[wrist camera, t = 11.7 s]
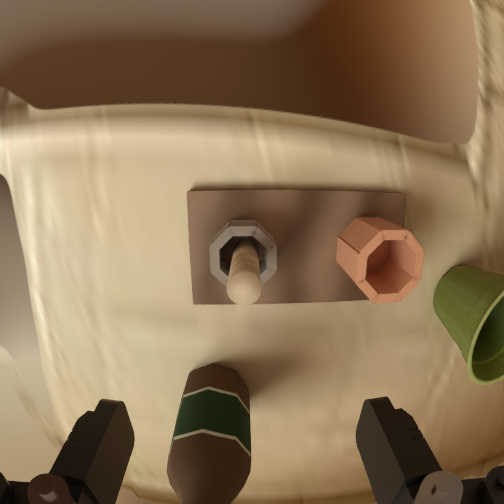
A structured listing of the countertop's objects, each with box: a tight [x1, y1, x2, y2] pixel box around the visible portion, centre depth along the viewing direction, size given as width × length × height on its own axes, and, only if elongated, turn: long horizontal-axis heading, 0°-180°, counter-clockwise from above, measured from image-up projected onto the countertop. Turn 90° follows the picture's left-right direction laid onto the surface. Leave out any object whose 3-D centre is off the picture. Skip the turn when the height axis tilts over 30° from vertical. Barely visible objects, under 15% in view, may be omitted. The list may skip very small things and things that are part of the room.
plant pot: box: [433, 265, 504, 385], centre depth 28 cm, size 12×12×11 cm
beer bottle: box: [167, 364, 251, 504], centre depth 24 cm, size 8×8×24 cm
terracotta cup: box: [336, 217, 424, 303], centre depth 28 cm, size 6×6×6 cm
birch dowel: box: [227, 238, 261, 305], centre depth 25 cm, size 2×2×10 cm
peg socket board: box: [187, 189, 406, 304], centre depth 29 cm, size 21×11×4 cm, turn 90°
